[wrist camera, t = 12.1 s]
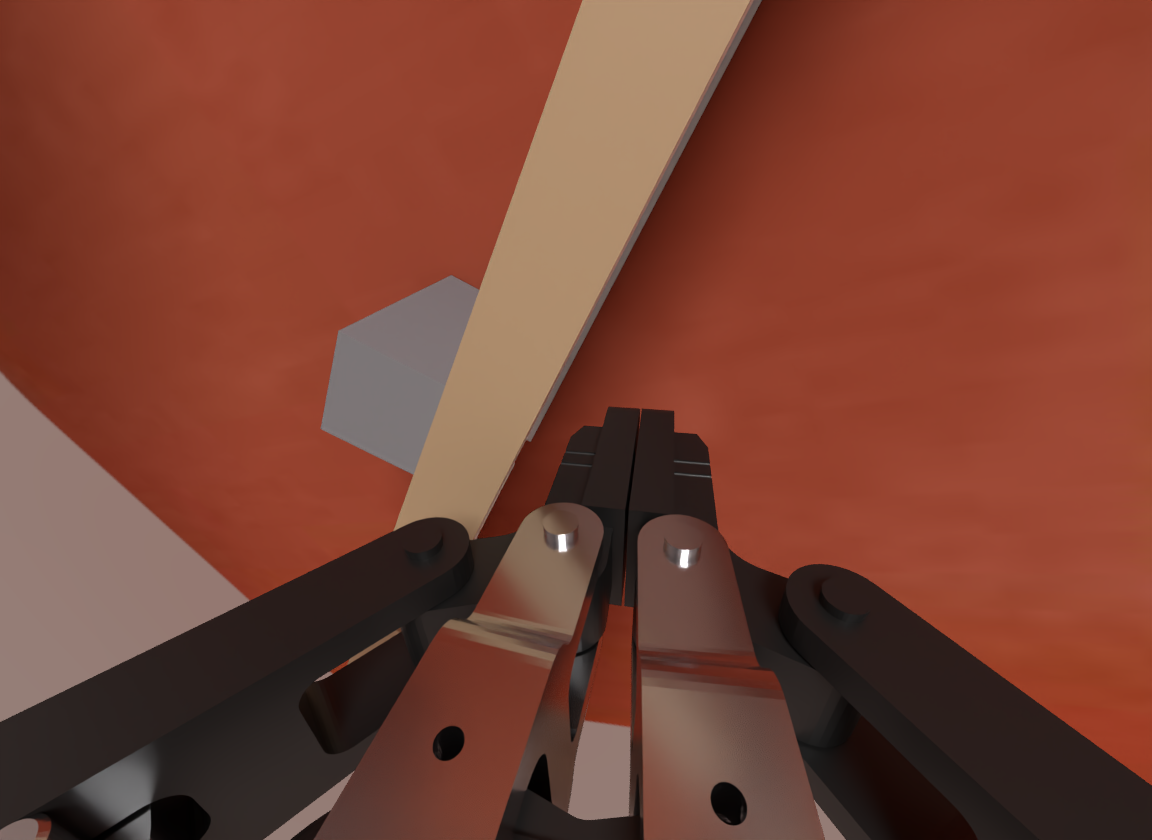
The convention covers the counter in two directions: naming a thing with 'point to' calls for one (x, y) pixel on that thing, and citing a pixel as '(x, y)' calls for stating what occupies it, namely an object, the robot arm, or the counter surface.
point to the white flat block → (566, 233)
